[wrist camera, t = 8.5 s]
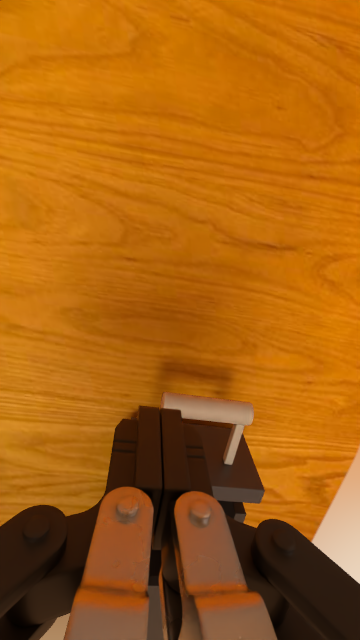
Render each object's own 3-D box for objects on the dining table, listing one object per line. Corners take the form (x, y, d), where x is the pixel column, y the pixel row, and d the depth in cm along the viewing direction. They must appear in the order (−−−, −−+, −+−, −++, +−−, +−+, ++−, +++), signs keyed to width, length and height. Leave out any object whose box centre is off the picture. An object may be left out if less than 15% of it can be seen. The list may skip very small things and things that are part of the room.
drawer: (140, 361, 25) (138, 412, 19) (257, 377, 26) (287, 429, 20) (114, 512, 30) (105, 588, 24) (212, 519, 31) (227, 592, 26)
